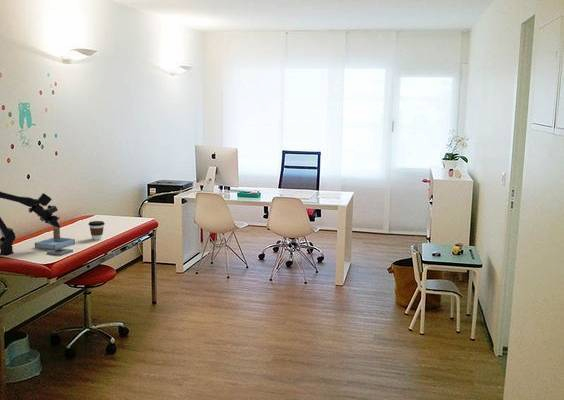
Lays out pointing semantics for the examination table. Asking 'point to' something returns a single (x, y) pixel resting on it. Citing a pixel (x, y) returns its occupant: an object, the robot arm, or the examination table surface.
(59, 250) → the plate
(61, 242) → the pin tray
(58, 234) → the pin
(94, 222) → the coffee cup
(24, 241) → the examination table surface
